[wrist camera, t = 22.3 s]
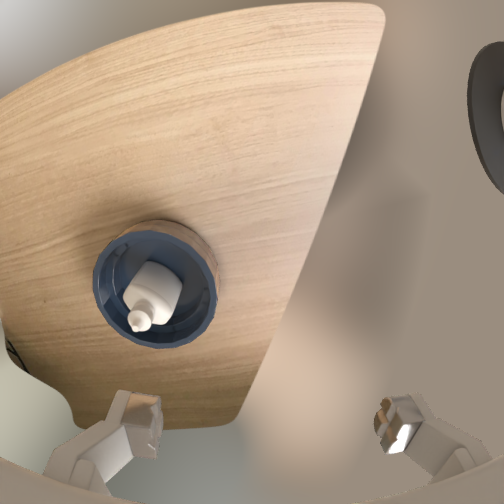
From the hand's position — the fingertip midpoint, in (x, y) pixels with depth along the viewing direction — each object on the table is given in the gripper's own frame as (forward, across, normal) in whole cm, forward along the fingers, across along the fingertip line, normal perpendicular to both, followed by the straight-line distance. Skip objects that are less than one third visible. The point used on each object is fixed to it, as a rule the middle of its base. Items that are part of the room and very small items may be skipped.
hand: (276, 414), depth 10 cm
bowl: (+29, +10, +8) cm, 32 cm away
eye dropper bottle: (+29, +10, +8) cm, 31 cm away
